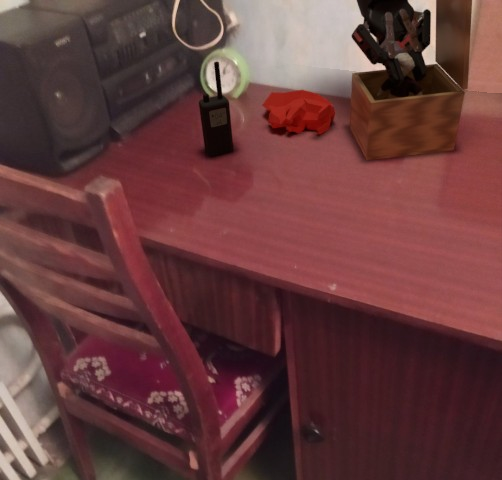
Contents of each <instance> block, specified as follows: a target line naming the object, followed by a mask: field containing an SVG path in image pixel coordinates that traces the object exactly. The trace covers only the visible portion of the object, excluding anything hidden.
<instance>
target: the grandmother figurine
mask: <svg viewBox="0 0 502 480" xmlns="http://www.w3.org/2000/svg"><path fill="white" fill-rule="evenodd" d="M395 58H398V61H399V64H400V67H401V70H402V73H403V76H404V82H403V83H402V84H401V85H400V86H398V87H394V84H392V83H391V82H390V80H389V78H388V79H387V80H386V81H385V82H384V83H383V84H382V85H381V88H380V90H379V92H378V93H377V97H378V98H382V97H383V94H384V93H385V92H386V90H390V89H391V90H390V93H389V95H388V99H393V98H402V97H409V92H412V93H413V94H414V95H416V96H420V95H422V91H421V90H422V88H421V87H420V86H419V84H418V83H417V82H416V81H415V80H413V79H412V78H410V77H409V76H407V75H408V74H409V73H410V71H411V70H412V69H413V68H414V66H415V65H414V61H413V59H412V57H410V56H409V55H408V53H405V52H400V53H398V54H395Z"/></svg>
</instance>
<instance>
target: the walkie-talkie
mask: <svg viewBox="0 0 502 480" xmlns="http://www.w3.org/2000/svg"><path fill="white" fill-rule="evenodd" d="M213 68H214V76H215V86H216V94H217V95H214V96H211V97H210V95H209V93H203V95H202V98H201V99H200V100H199V101H198V106H199V107H198V108H199V115H200V116H199V117H200V124H201V129H202V137H203V145H204V152H205V154H206V155H207V157H209V158H216V157H220V156H224V155H228V154H231V153H233V152H235V150H234V141H233V140H234V139H233V131H232V120H231V109H230V101H229V99H228V98H227V97H226V96H225V95H223V89H222V78H221V71H220V70H221V69H220V62H219V61H214V62H213Z"/></svg>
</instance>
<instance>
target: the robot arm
mask: <svg viewBox="0 0 502 480" xmlns="http://www.w3.org/2000/svg"><path fill="white" fill-rule="evenodd" d="M356 3H357V7H358V9H359V12H360V15H361V17H363V23H359V24H358V25H357V27H356V28H355V29H354V30H353V32H352V33H351V39H352V40H353V41H354V43H355V44H356V45H357V47H358V48H359V50H360V51H361V52H362V54H363V55H364V56H365V57H366V59H368V61H369V62H370V64H372V65H374V66H375V65H377V64H381V65H382V66H383V67H384V69H385V70H386V71H387V74H388V77H389V80H390V82H391V83H392V84H394V87H398V86H400V85H401V84H402V83H403V82H404V76H403V73H402V70H401V67H400V64H399V61H398V58H395V57H396V49H395V42H396V43H397V44H398V46H399V48H400V49H403V51H404V53H408V55H409V56H410V57H412V59H413V61H414V65H415V66H414V68H413V69H412V72H413V75H414V78H415V81H416V82H417V81H421V80H422V79H423V78H424V77H425V76H426V72H427V67H426V65H427V64H426V62H425V59H424V56H423V52H424V51H425V50H426V49H427V48H428V47H429V46H430V45H431V33H432V31H431V28H432V27H431V25H432V21H431V20H432V15H431V14H432V12H431V10H430V9H429V8H426V9H424V10H423V12H421V11H417V10H415V9H414V7H413V6H412V5H411V4H410V2H409V0H356ZM412 23H413V24H412Z"/></svg>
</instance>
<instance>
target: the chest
mask: <svg viewBox="0 0 502 480" xmlns="http://www.w3.org/2000/svg"><path fill="white" fill-rule="evenodd" d="M425 65H426V67H427V72H426V76H425V77H424V78H423V79H422V80H421V81H417V83H418V84H419V86H420V87H421V88H422V90H421V91H422V95H420V96H416V95H414V94H413V93H412V92H409V97H402V98H393V99H388V95H389V93H390V90H391V89H390V90H386V92H385V93H384V94H383V97H382V98H378V97H377V93H378V92H379V90H380V88H381V85H382V84H383V83H384V82H385V81H386V80H387V79H388V78H389V77H388V74H387V71H386V69H378V70H377V69H376V70H369V71H359V72H352V73H351V86H350V87H351V88H350V89H351V90H350V108H349V109H350V110H349V112H350V113H349V129H350V131H351V133H352V135H353V137H354V139H355V141H356V143H357V144H358V146H359V148H360V150H361V152H362V154H363V156H364V157H365V160H366V161H372V160H373V161H374V160H383V159H389V158H399V157H406V156H415V155H423V154H431V153H433V154H434V153H440V152H451V151H454V150H455V146H456V142H457V141H456V140H457V136H458V131H459V125H460V119H461V113H462V109H463V103H464V98H465V91H464V90H462V88H461V87H460V86H459V85H458V84H457V83H456V82H455V81H454V80H453V79H452V78H451V77H450V76H449V75H448V74H447V73H446V72H445V71H444V70H443V69H442V68H441V67H440V66H439V65H438V63H432V64H425ZM407 76H409V77H410V78H412V79H413V80H415V78H414V75H413V72H412V70H411V71H410V73H409V74H408V75H407Z"/></svg>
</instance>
